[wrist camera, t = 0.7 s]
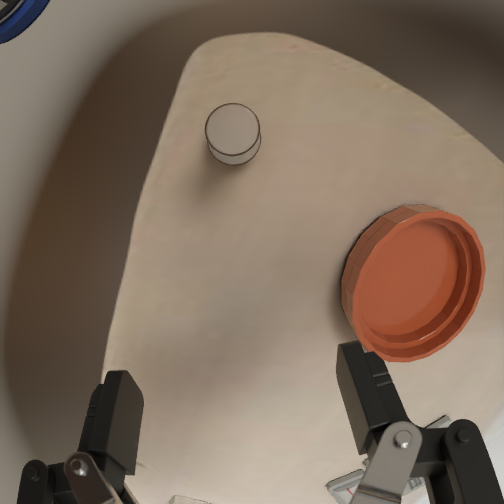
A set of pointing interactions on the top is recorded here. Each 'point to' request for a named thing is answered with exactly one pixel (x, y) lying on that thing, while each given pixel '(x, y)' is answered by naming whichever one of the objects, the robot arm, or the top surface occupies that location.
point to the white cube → (185, 500)
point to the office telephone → (348, 484)
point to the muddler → (233, 134)
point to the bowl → (412, 282)
